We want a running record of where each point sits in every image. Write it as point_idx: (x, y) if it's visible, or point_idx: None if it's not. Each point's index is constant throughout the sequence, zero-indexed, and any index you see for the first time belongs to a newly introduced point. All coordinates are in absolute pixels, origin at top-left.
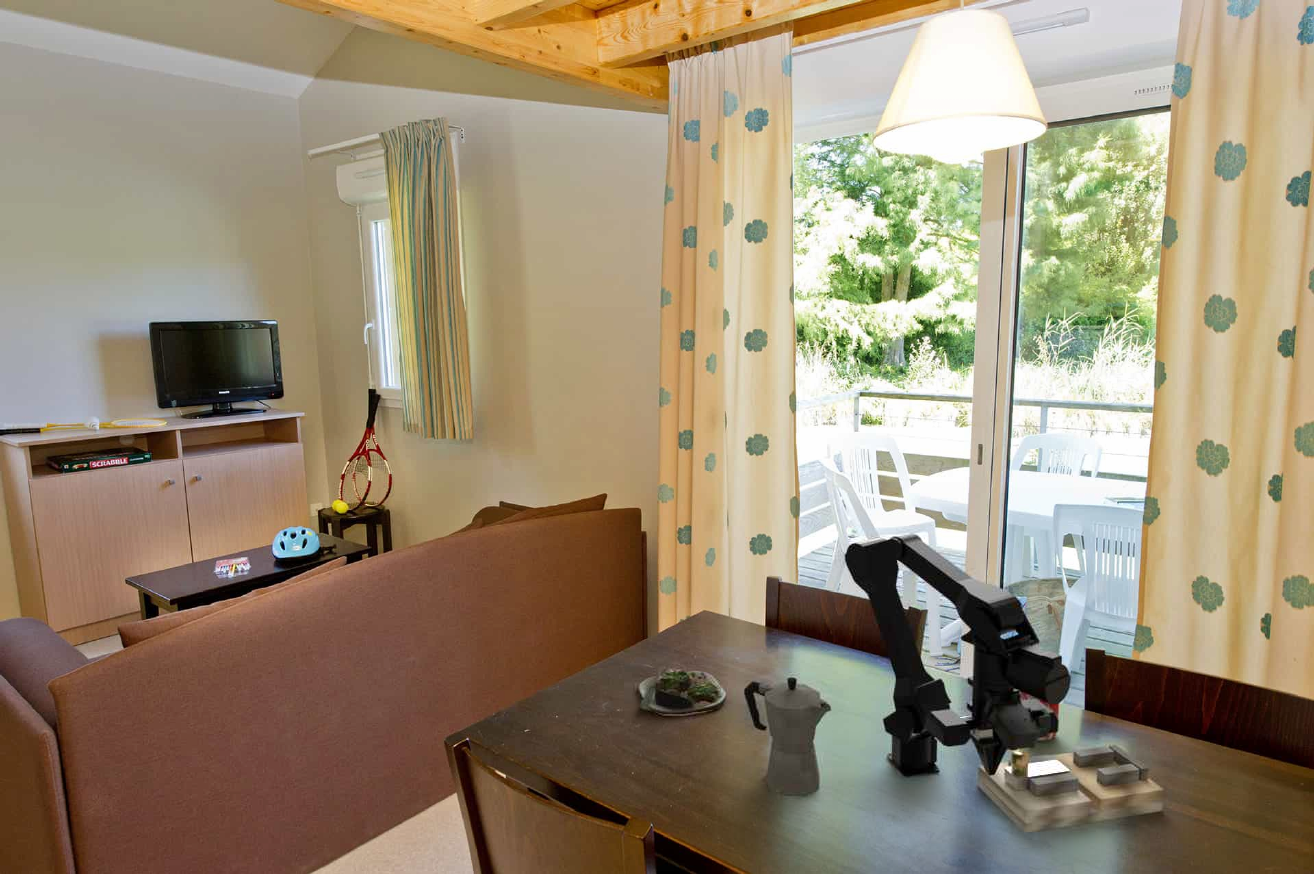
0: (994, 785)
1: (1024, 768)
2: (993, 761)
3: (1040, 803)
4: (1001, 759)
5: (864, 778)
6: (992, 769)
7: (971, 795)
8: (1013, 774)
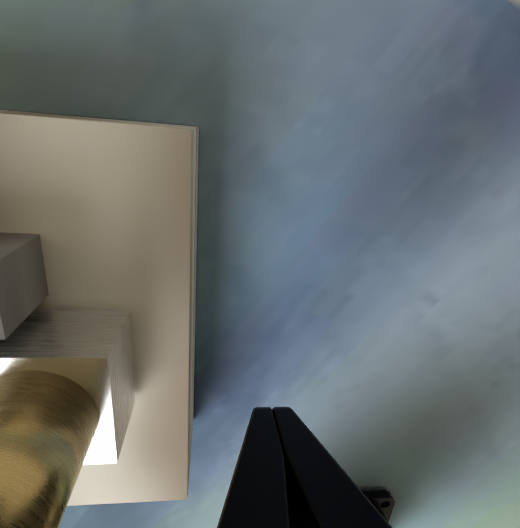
0: (190, 384)
1: (1, 415)
2: (315, 509)
3: (48, 171)
4: (225, 524)
5: (490, 498)
6: (289, 440)
7: (249, 383)
8: (103, 397)
